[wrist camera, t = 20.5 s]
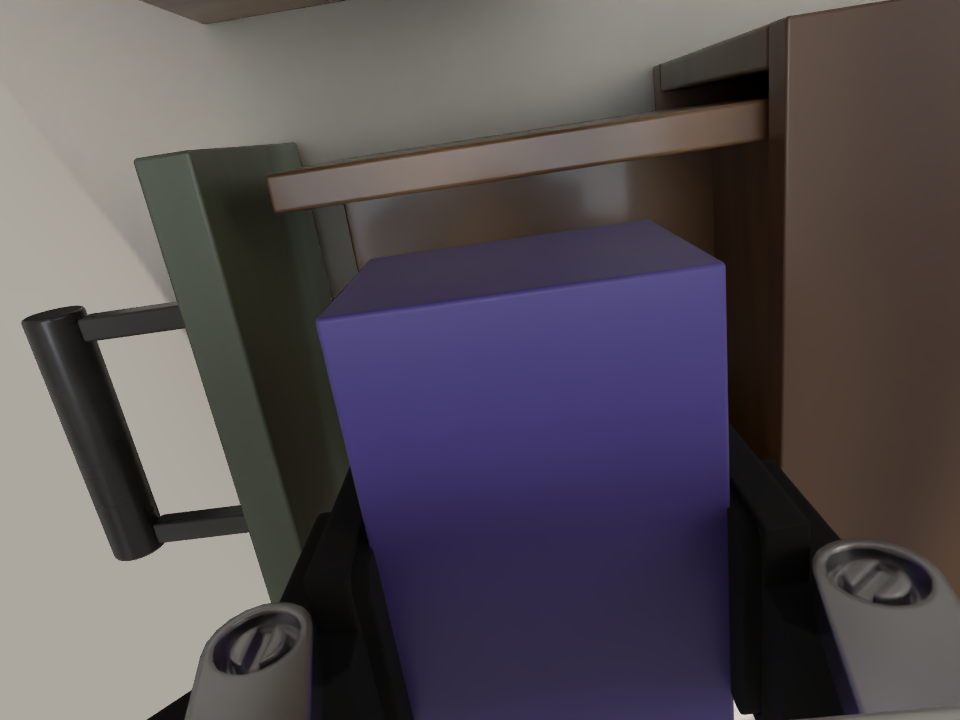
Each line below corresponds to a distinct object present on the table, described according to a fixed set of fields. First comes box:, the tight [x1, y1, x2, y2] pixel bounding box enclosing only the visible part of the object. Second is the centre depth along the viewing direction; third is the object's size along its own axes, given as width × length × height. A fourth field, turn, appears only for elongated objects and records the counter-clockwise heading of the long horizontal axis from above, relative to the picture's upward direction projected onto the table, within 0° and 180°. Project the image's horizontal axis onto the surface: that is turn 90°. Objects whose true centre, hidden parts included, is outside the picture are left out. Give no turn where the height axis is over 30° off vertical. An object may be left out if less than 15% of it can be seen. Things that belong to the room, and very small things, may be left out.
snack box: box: [316, 219, 734, 720], centre depth 10 cm, size 4×9×4 cm, turn 8°
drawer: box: [22, 95, 769, 603], centre depth 19 cm, size 19×13×8 cm
